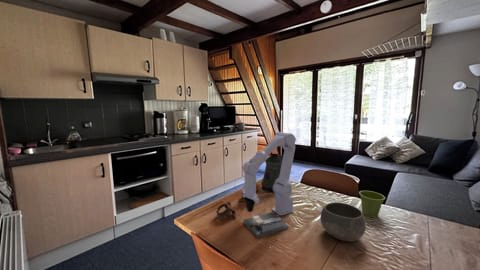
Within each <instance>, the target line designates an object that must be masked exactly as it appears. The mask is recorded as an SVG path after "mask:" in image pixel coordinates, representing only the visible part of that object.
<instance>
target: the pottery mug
mask: <svg viewBox="0 0 480 270" xmlns="http://www.w3.org/2000/svg"><path fill="white" fill-rule="evenodd" d="M223 207H224V208H225V209H224V210H223V211H222V212H220V211H221V209H222V208H223ZM236 213H237V212H236V211H235V208H234V207H233V206H232V203H231V202H230V201H227V202H224V203H222V204H220V205H219V206H218V207H217V210H216V216H217V218H219V219H221V218H227V215H230V214H231V215H233V217H234V219H237V214H236Z"/></svg>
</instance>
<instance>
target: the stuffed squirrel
mask: <svg viewBox="0 0 480 270" xmlns="http://www.w3.org/2000/svg"><path fill="white" fill-rule="evenodd" d="M241 188H242V189H245V185H243V186H242V187H241ZM260 191H262V185H260V184H259V183H256V195H257V196H258V194H259V192H260ZM240 193H241V197H239V198H238V199H237V201H238V202H245V200H244V197H243V194H244V193H242V191H241V192H240Z"/></svg>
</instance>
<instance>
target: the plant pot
mask: <svg viewBox="0 0 480 270" xmlns="http://www.w3.org/2000/svg"><path fill="white" fill-rule="evenodd" d="M358 194H359V196H360V202H361V203H360V204H361V211H362V213H363V216H364V217H368V218H378V216H379V213H380V211H381V208H382V204H383V203H384V201H385V199H386V197H385V196H384V195H383V194H381V193H378V192H375V191H372V190H360V191H359V192H358Z"/></svg>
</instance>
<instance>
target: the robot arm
mask: <svg viewBox="0 0 480 270" xmlns="http://www.w3.org/2000/svg"><path fill="white" fill-rule="evenodd" d="M296 141H297V138H296V135H295V134H293V133H292V132H283V131H277V132H276V133H275V135H273V137H272V139H271V141H269V143H268V144H267V145H266V146H265V148H264V149H263V150H258V151H256V152H255V154H254V155H253V157H252V158H250V159H249V160H247V161H245V162H244V163H243V165H242V166H241V167H242V168H241V169H242V171H243V173H244V186H245V188H242V189H241V192H242V193H244V194H243V197H244V200H245V201H244V202H245V206H246V210H247V212H248V213H251V212H253V210H254V207H255V205H256V204H260V198H259V197H258V194H257V195H256V184H257V174H258V173H259V171H260V170H259V169H260V167H261V166H262V165H263V164H264V163H266V162H265V161H266V160H267V158H268V156H269V155H271V154H272V152H273V151H275V150H276V149H277V148H278V147H281V148H283V150H284V152H283V154H282V156H283V160H282V165H281V170H280V175H279V178H278V179H276V181H275V184H274V185H273V191H274V192H273V193H274V196H275V197H274V198H275V201H274V207H273V208H271V211H273V212H275V213H276V215H279V217H280V216H284V215H287V214H291V213H294V212H295V210H294V198H293V196H292V194H293V193H292V192H293V189H292V187H293V185H292V182H291V181H290V177H291V172H292V167H293V163H294V156H295V151H296Z"/></svg>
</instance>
